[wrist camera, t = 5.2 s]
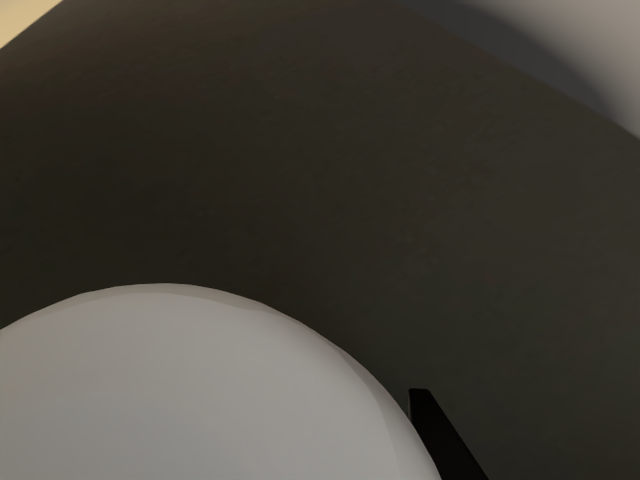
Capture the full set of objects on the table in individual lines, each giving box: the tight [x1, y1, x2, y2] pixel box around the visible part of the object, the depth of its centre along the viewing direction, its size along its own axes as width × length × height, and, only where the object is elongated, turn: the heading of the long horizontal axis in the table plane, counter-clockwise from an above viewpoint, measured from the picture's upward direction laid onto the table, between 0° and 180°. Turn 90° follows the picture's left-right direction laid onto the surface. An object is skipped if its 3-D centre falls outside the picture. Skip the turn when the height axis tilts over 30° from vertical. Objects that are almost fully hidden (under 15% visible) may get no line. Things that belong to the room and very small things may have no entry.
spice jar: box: [0, 283, 442, 480], centre depth 8 cm, size 5×5×13 cm
